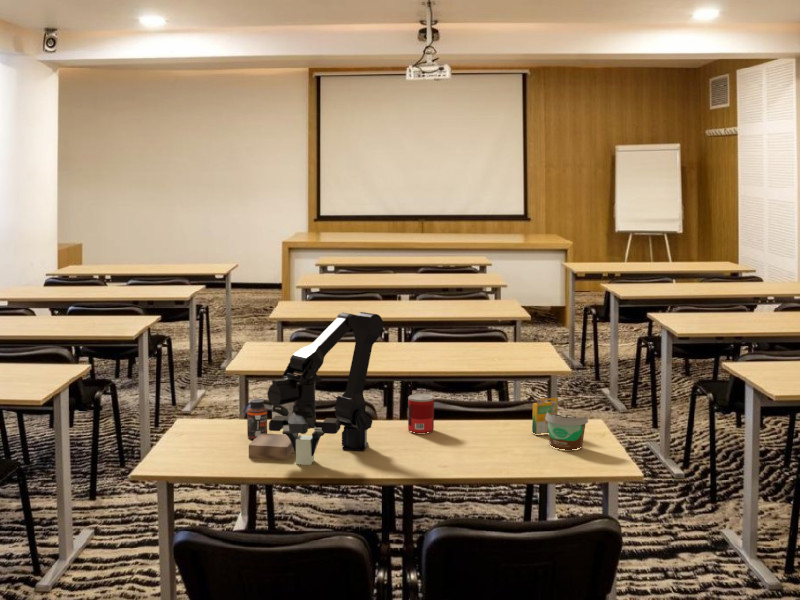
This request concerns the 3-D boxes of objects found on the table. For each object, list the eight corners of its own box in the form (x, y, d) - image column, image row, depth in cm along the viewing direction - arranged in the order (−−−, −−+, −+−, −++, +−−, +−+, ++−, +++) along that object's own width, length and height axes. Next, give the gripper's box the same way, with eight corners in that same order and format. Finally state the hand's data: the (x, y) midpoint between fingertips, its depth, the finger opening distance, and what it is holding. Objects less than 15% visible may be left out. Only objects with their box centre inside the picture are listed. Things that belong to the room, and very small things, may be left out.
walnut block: (297, 448, 227) (297, 435, 226) (287, 461, 216) (287, 447, 215) (260, 446, 228) (260, 433, 228) (248, 459, 217) (248, 445, 217)
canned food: (438, 432, 242) (439, 397, 241) (417, 436, 238) (417, 401, 236) (424, 426, 249) (424, 392, 247) (403, 430, 244) (403, 395, 243)
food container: (541, 449, 226) (542, 416, 225) (544, 443, 232) (545, 410, 230) (584, 454, 222) (585, 420, 220) (587, 448, 227) (588, 414, 226)
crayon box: (552, 431, 244) (553, 395, 242) (557, 434, 241) (558, 397, 239) (531, 433, 241) (532, 397, 240) (536, 436, 238) (537, 399, 237)
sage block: (314, 460, 215) (313, 435, 214) (310, 465, 211) (310, 440, 210) (299, 459, 216) (299, 435, 215) (296, 464, 212) (295, 439, 211)
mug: (269, 423, 251) (268, 402, 250) (276, 417, 257) (276, 397, 256) (298, 425, 249) (298, 405, 248) (305, 419, 255) (305, 399, 254)
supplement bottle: (263, 440, 232) (262, 403, 231) (244, 439, 234) (243, 402, 232) (270, 434, 238) (269, 398, 237) (252, 433, 239) (251, 397, 238)
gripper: (261, 405, 205) (262, 463, 207) (331, 408, 202) (331, 466, 204) (274, 395, 216) (275, 449, 218) (340, 397, 213) (340, 453, 215)
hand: (305, 455), depth 213 cm, fingers closed on sage block, 4 cm apart
